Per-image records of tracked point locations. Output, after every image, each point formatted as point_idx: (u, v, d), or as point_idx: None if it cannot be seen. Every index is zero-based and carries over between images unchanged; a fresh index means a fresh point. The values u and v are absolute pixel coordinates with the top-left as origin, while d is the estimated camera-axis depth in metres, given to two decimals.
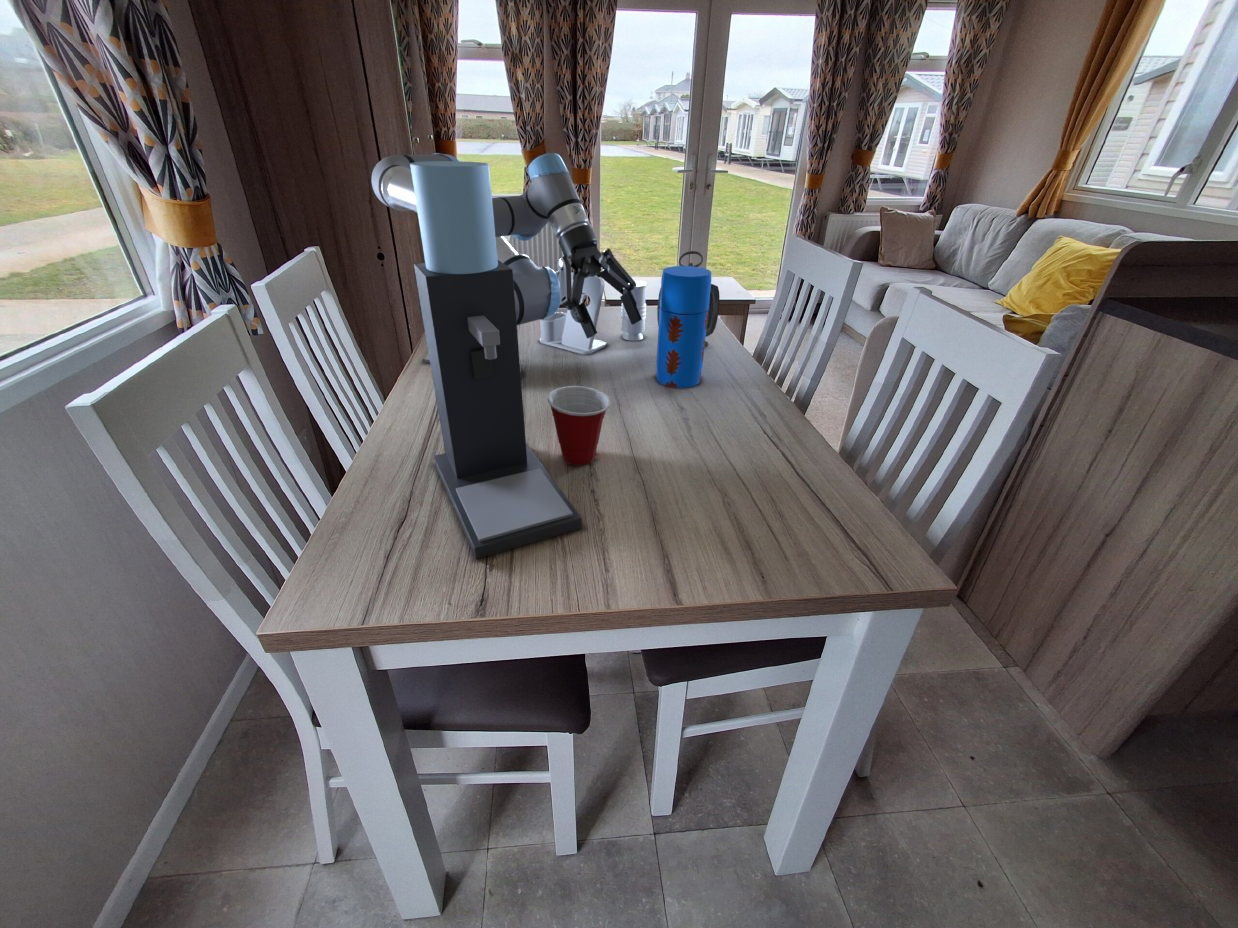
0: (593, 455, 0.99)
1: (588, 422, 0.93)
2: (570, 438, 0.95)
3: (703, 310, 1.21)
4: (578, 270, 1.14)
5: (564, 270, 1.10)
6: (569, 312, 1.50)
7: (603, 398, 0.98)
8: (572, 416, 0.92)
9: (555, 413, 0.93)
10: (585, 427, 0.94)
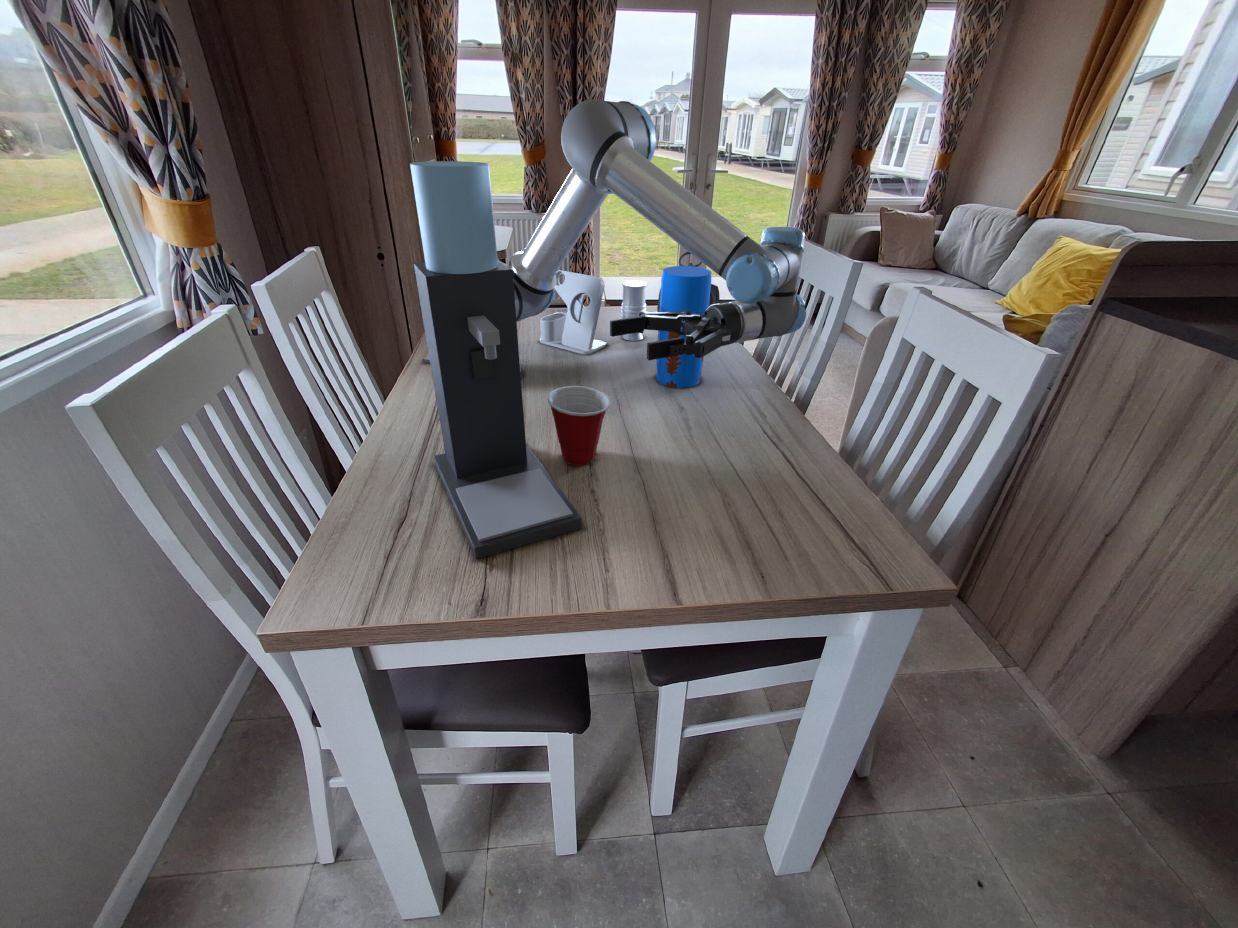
0: (593, 455, 0.99)
1: (588, 422, 0.93)
2: (570, 438, 0.95)
3: (703, 310, 1.21)
4: (704, 332, 0.97)
5: (719, 344, 0.95)
6: (569, 312, 1.50)
7: (603, 398, 0.98)
8: (572, 416, 0.92)
9: (555, 413, 0.93)
10: (585, 427, 0.94)
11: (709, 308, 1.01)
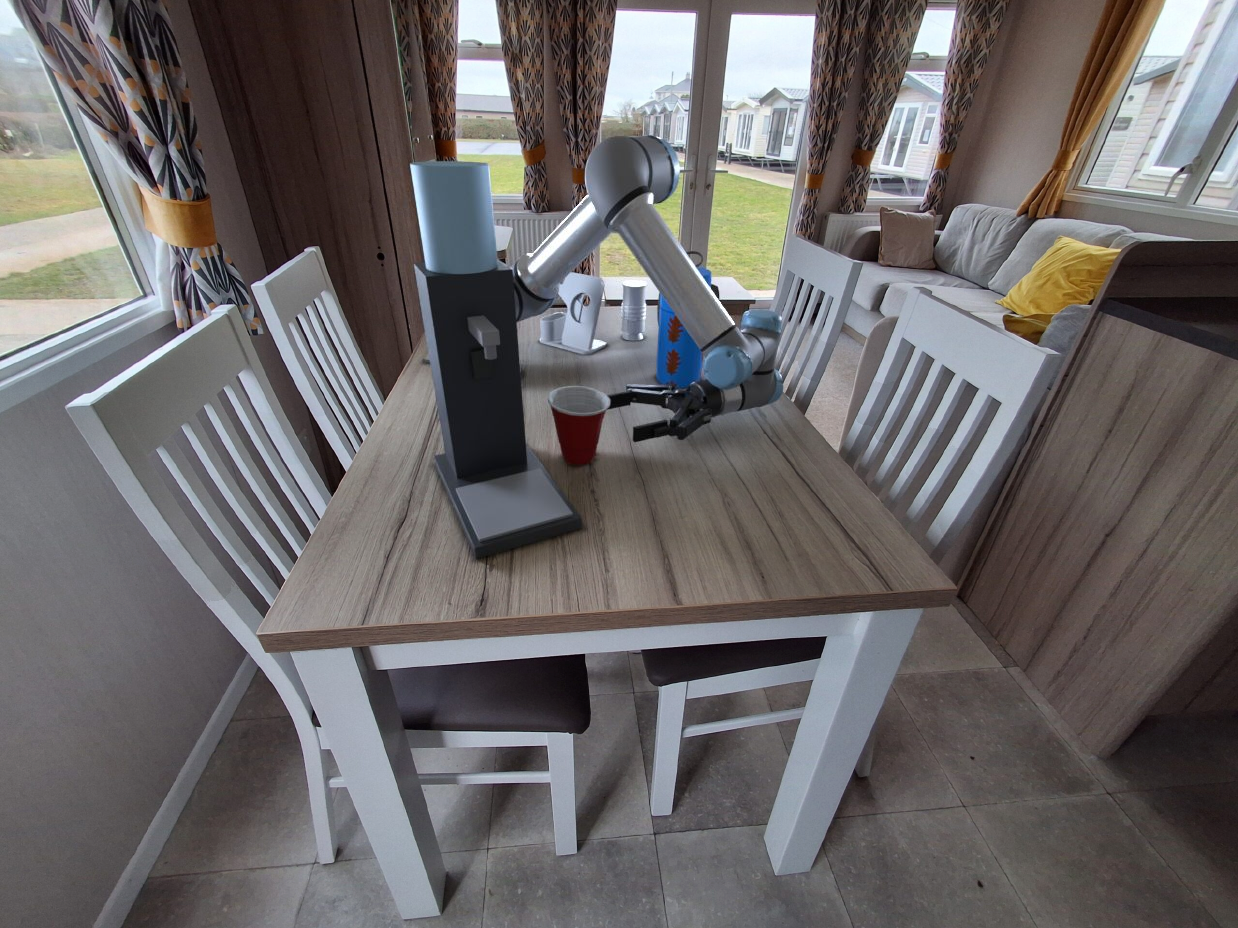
0: (593, 455, 0.99)
1: (588, 422, 0.93)
2: (570, 438, 0.95)
3: None
4: (687, 410, 1.04)
5: (701, 423, 1.01)
6: (569, 312, 1.50)
7: (603, 398, 0.98)
8: (572, 416, 0.92)
9: (555, 413, 0.93)
10: (585, 427, 0.94)
11: (692, 384, 1.07)
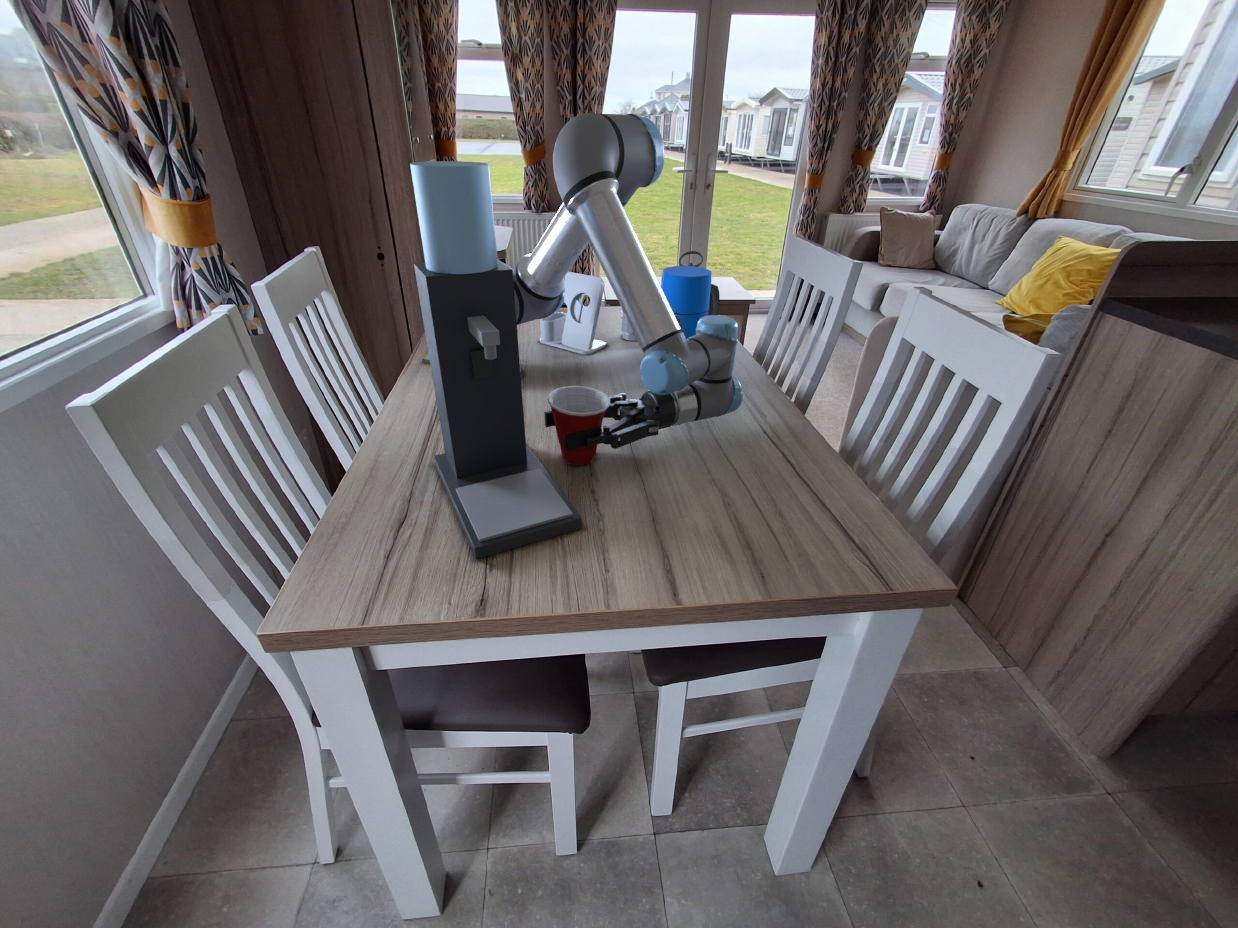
0: (593, 455, 0.99)
1: (588, 422, 0.93)
2: None
3: (703, 310, 1.21)
4: (638, 420, 1.00)
5: (645, 434, 0.97)
6: (569, 312, 1.50)
7: (603, 398, 0.98)
8: (571, 416, 0.92)
9: (555, 413, 0.93)
10: (584, 427, 0.94)
11: (645, 393, 1.03)
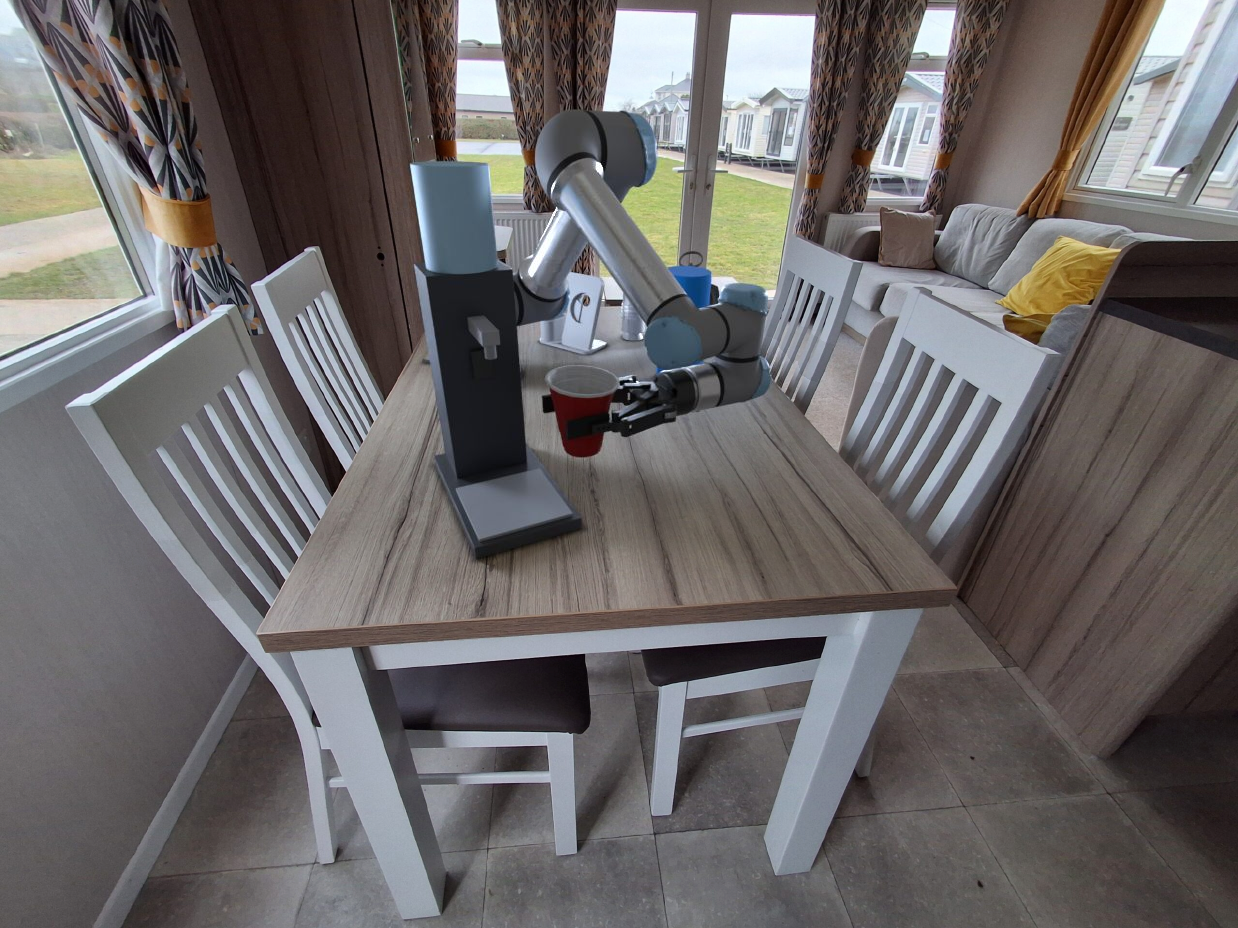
0: (599, 446, 0.85)
1: (593, 406, 0.78)
2: None
3: None
4: (652, 405, 0.85)
5: (660, 421, 0.82)
6: (569, 312, 1.50)
7: (611, 378, 0.83)
8: (574, 398, 0.77)
9: (554, 395, 0.79)
10: (589, 412, 0.79)
11: (660, 374, 0.89)
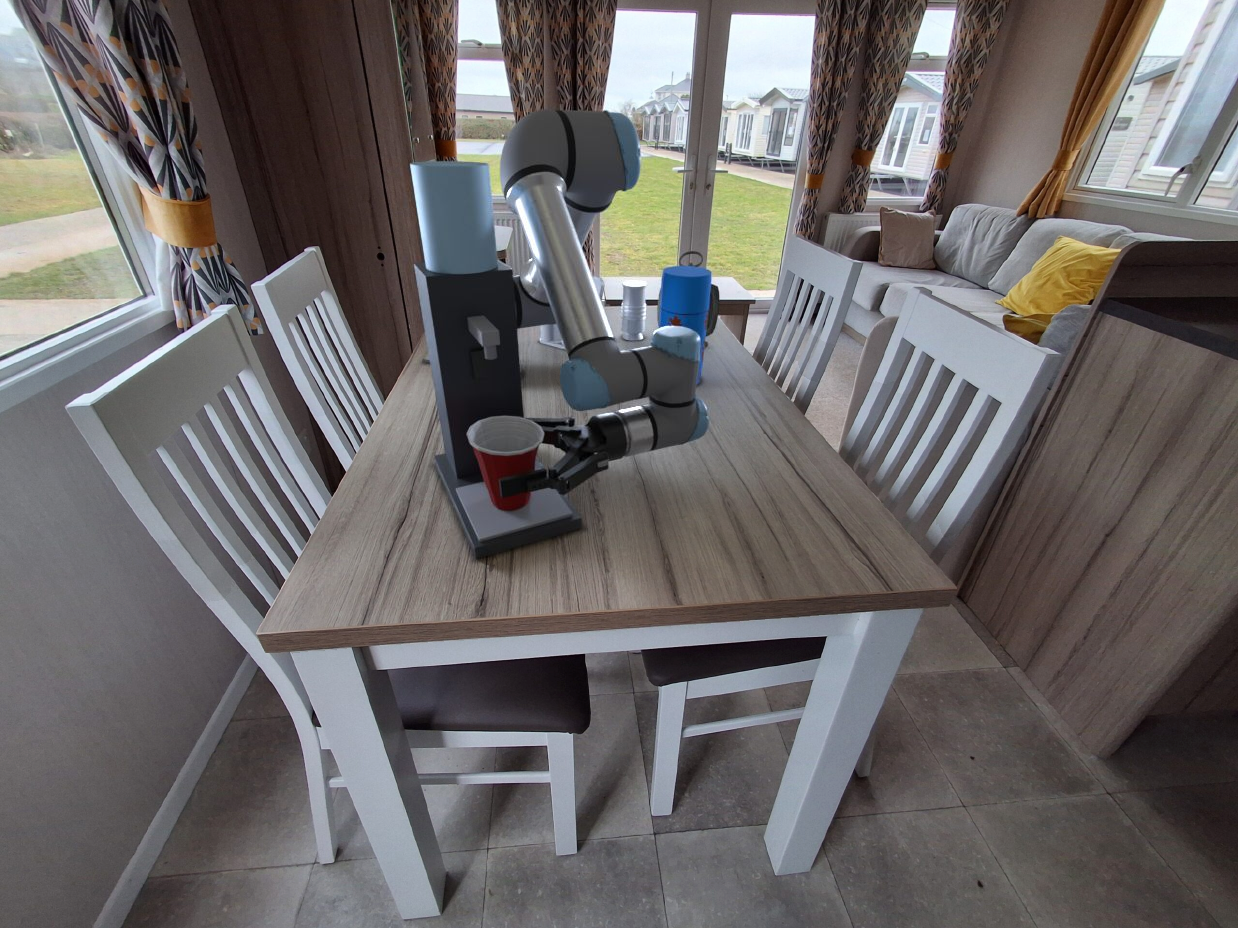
0: (526, 498, 0.83)
1: (515, 462, 0.77)
2: (495, 480, 0.79)
3: (703, 310, 1.21)
4: (580, 452, 0.83)
5: (594, 471, 0.80)
6: None
7: (537, 431, 0.82)
8: (493, 456, 0.75)
9: (475, 451, 0.77)
10: (511, 468, 0.77)
11: (591, 419, 0.87)
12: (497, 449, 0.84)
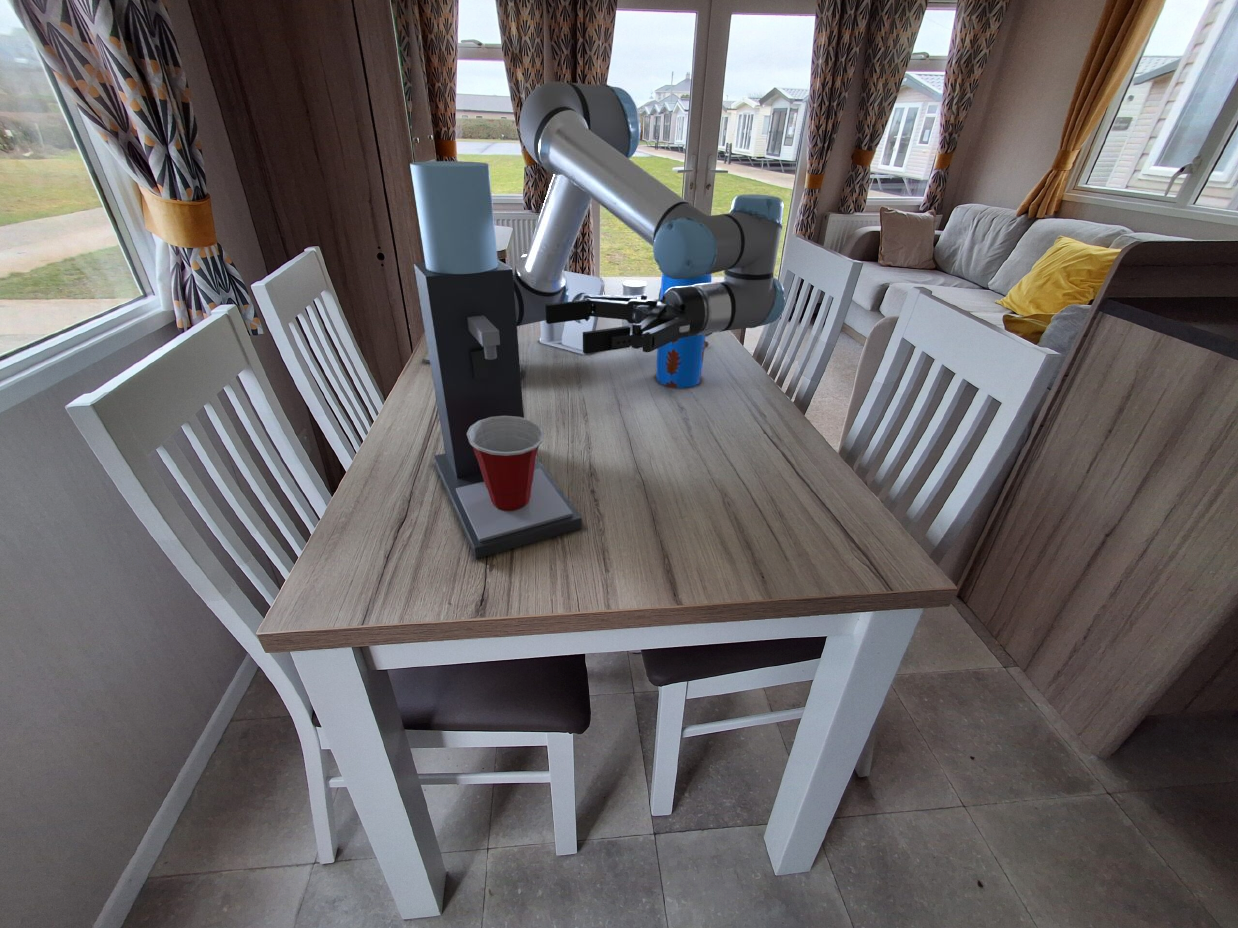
0: (526, 498, 0.83)
1: (515, 462, 0.77)
2: (495, 480, 0.79)
3: None
4: (659, 321, 0.80)
5: (676, 335, 0.77)
6: None
7: (537, 431, 0.82)
8: (493, 456, 0.75)
9: (475, 451, 0.77)
10: (511, 468, 0.77)
11: (667, 292, 0.83)
12: (497, 449, 0.84)
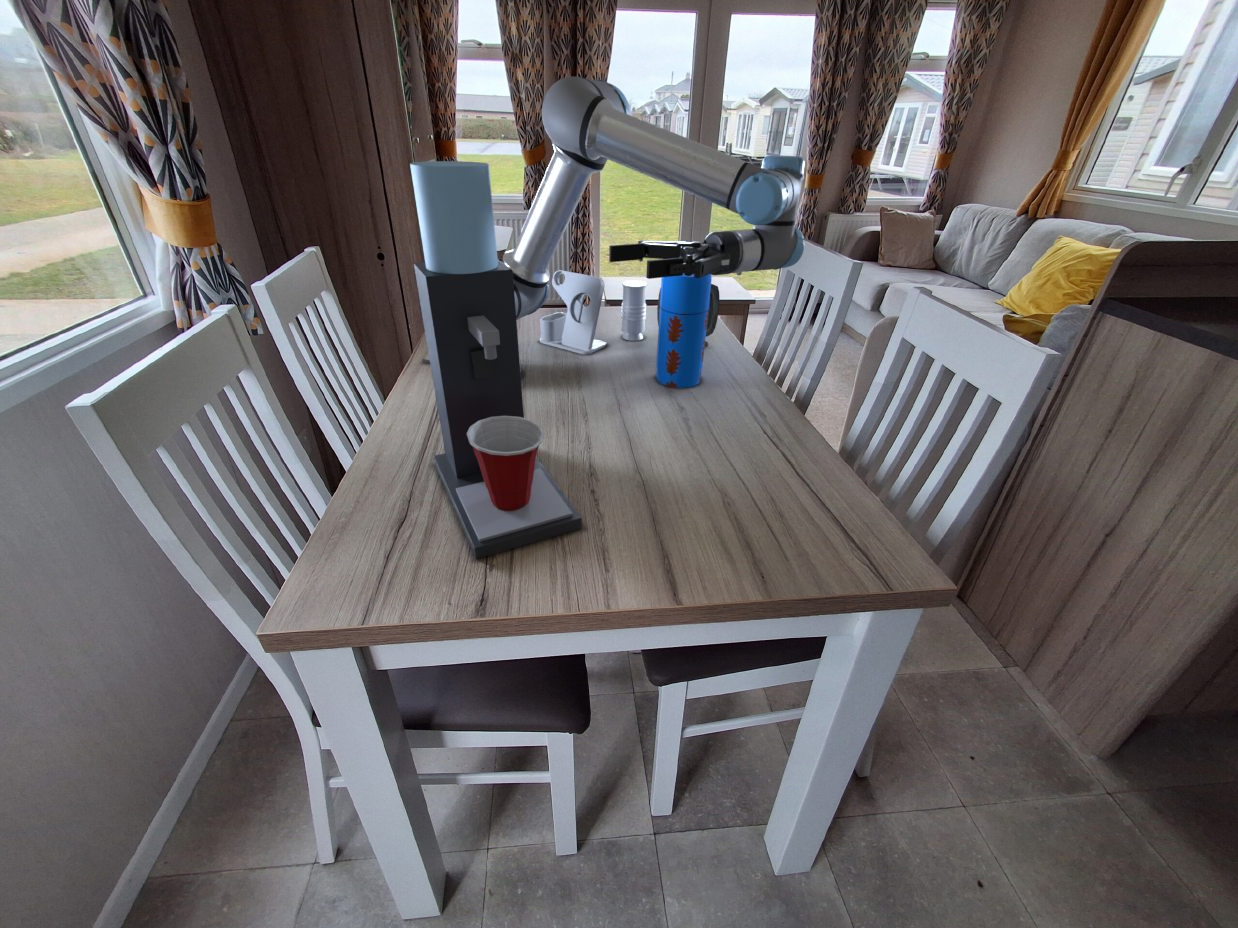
0: (526, 498, 0.83)
1: (515, 462, 0.77)
2: (495, 480, 0.79)
3: (703, 310, 1.21)
4: (703, 257, 0.98)
5: (719, 267, 0.95)
6: (569, 312, 1.50)
7: (537, 431, 0.82)
8: (493, 456, 0.75)
9: (475, 451, 0.77)
10: (511, 468, 0.77)
11: (708, 236, 1.01)
12: (497, 449, 0.84)
